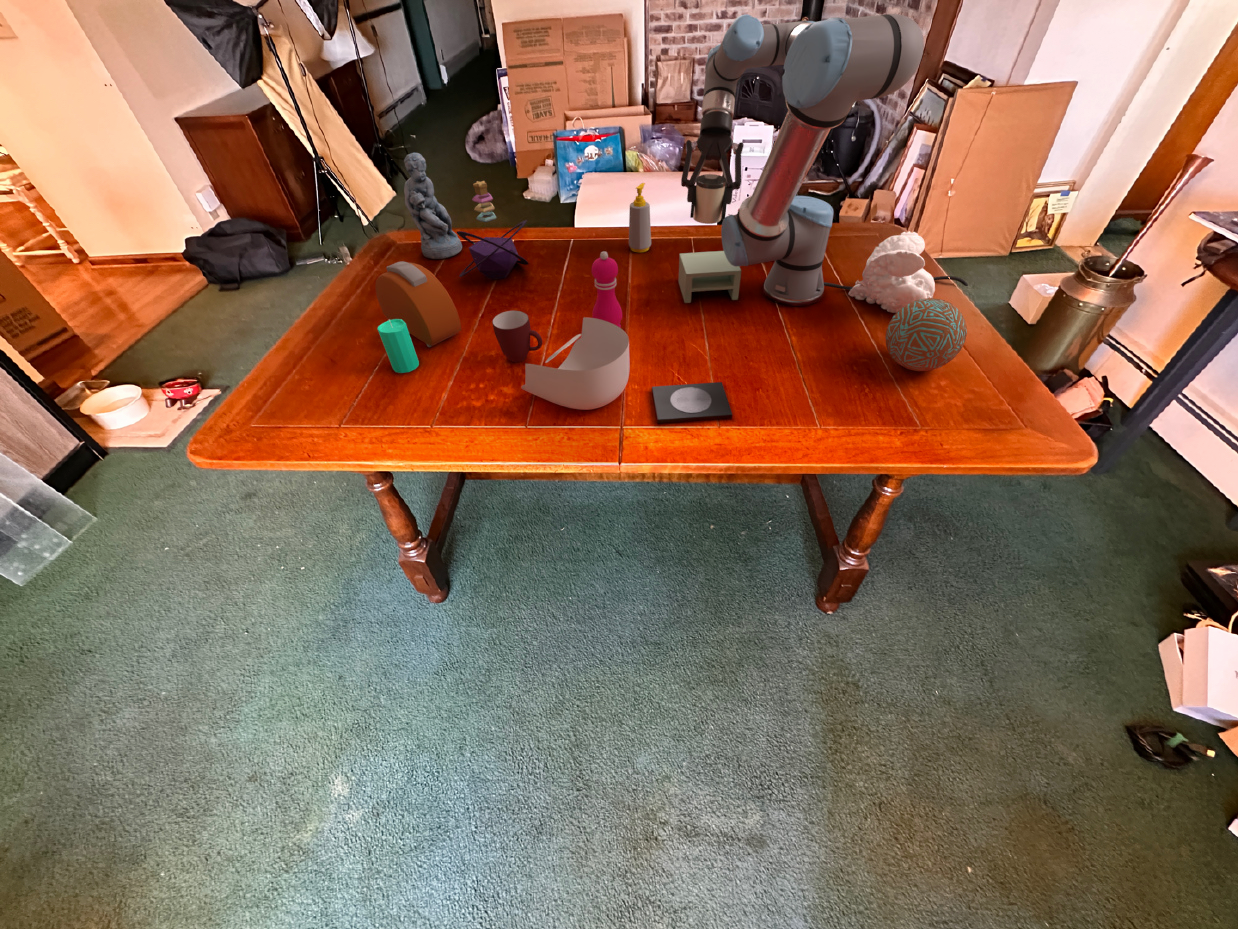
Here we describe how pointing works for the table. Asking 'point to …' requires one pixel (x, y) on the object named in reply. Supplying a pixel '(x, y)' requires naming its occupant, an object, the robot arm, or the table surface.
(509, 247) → the purple faceted sculpture
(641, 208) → the soap bottle
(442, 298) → the alarm clock
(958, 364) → the table surface
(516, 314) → the mug
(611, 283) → the pepper mill
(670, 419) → the hob plate
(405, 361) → the candle
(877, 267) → the white lumpy figure
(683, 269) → the small table
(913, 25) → the robot arm
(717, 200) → the jar
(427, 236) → the statue
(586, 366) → the white curved piece
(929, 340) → the decorative sphere
